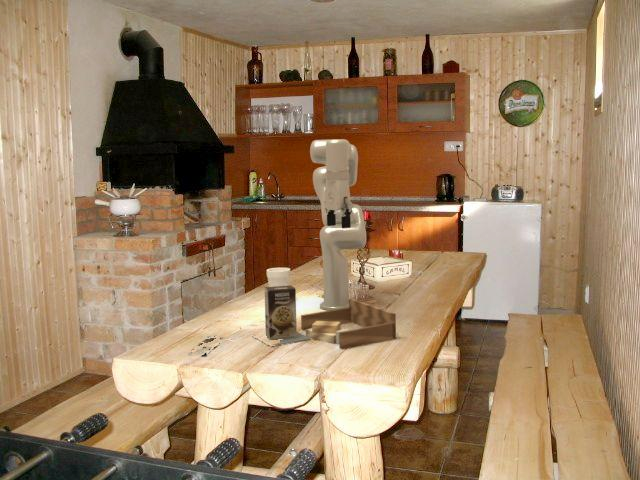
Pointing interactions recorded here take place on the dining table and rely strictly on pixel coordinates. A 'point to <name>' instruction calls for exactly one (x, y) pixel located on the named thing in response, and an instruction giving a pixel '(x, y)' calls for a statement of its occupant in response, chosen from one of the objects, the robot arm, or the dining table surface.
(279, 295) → the coffee box
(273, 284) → the foam cup
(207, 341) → the driftwood
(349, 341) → the rack
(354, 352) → the dining table surface
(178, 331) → the dining table surface
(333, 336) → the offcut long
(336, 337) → the offcut cube
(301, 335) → the mat
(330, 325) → the offcut short
